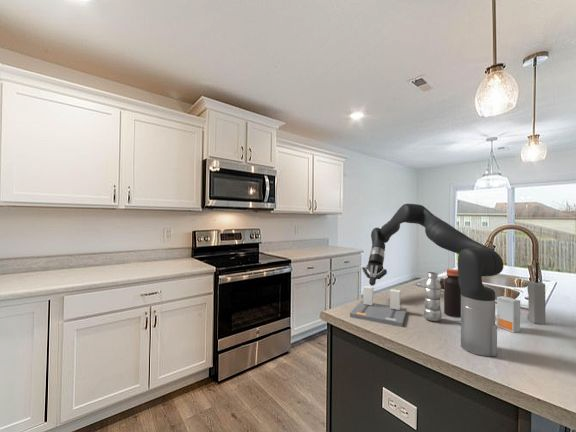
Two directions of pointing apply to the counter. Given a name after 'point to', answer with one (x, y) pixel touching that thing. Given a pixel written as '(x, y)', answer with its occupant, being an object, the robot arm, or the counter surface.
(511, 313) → the skincare box
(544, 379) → the counter surface
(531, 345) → the counter surface
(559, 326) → the counter surface
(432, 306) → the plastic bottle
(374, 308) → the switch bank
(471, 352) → the robot arm
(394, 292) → the tab inner
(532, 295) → the vintage mobile phone
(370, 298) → the block
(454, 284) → the vinegar
